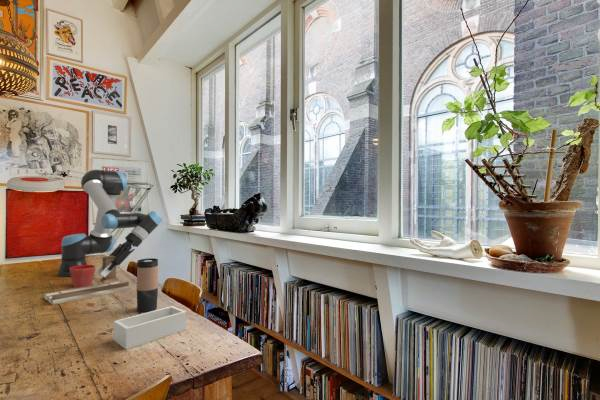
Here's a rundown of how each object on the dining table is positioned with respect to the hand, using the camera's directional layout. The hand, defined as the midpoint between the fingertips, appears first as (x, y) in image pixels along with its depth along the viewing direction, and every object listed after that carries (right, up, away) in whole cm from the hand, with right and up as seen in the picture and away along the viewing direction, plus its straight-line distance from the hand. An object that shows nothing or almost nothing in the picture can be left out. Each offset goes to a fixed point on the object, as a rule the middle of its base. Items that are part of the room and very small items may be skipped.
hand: (100, 274), depth 148 cm
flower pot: (-18, -9, +13) cm, 24 cm away
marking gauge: (+2, -4, +3) cm, 6 cm away
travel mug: (+33, -9, -22) cm, 40 cm away
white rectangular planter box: (+46, -9, -45) cm, 65 cm away
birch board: (-5, -9, -1) cm, 10 cm away
